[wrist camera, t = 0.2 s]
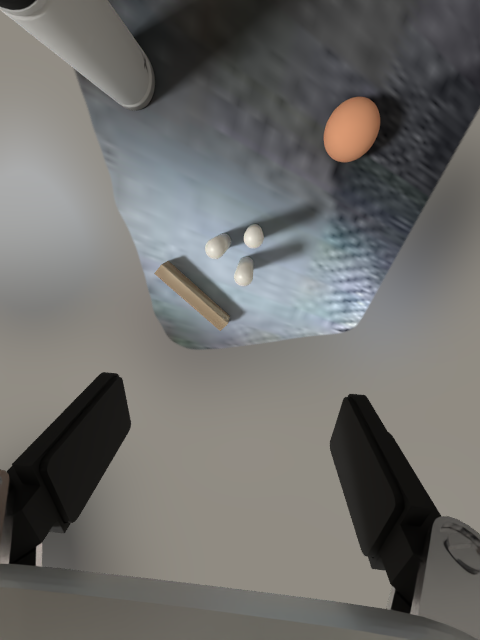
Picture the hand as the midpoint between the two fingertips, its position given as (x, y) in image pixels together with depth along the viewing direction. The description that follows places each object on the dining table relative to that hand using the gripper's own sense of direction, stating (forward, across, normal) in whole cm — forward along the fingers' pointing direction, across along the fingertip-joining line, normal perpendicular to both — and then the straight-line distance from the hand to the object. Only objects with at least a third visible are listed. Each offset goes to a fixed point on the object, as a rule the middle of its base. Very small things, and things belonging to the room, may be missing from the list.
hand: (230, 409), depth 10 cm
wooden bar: (+31, +9, +6) cm, 33 cm away
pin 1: (+31, +4, -3) cm, 31 cm away
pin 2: (+31, +1, 0) cm, 31 cm away
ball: (+28, -11, -17) cm, 34 cm away
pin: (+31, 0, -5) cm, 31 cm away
